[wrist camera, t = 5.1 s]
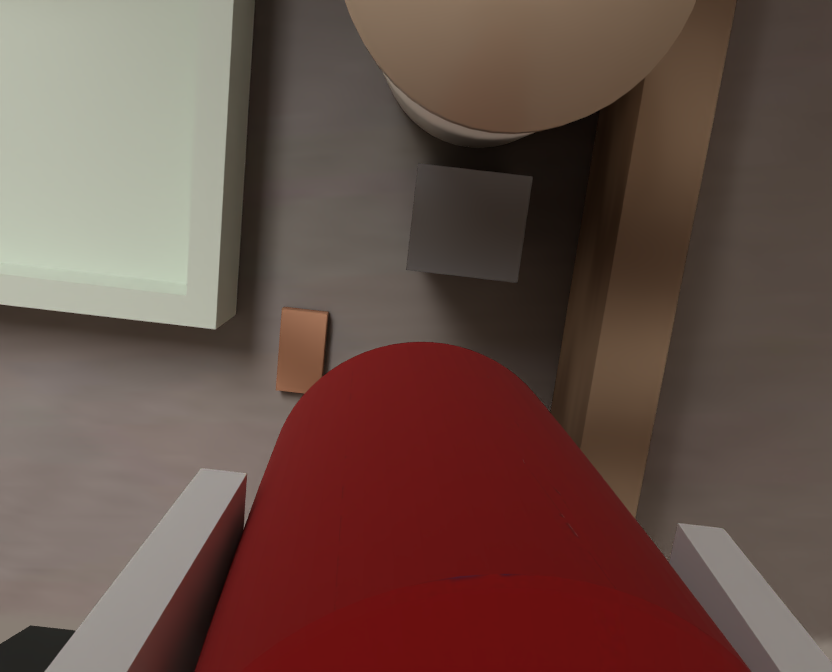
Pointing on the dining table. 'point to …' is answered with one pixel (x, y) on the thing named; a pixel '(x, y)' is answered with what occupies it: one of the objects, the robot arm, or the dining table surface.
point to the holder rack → (584, 251)
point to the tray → (124, 156)
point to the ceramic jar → (513, 59)
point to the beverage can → (446, 539)
